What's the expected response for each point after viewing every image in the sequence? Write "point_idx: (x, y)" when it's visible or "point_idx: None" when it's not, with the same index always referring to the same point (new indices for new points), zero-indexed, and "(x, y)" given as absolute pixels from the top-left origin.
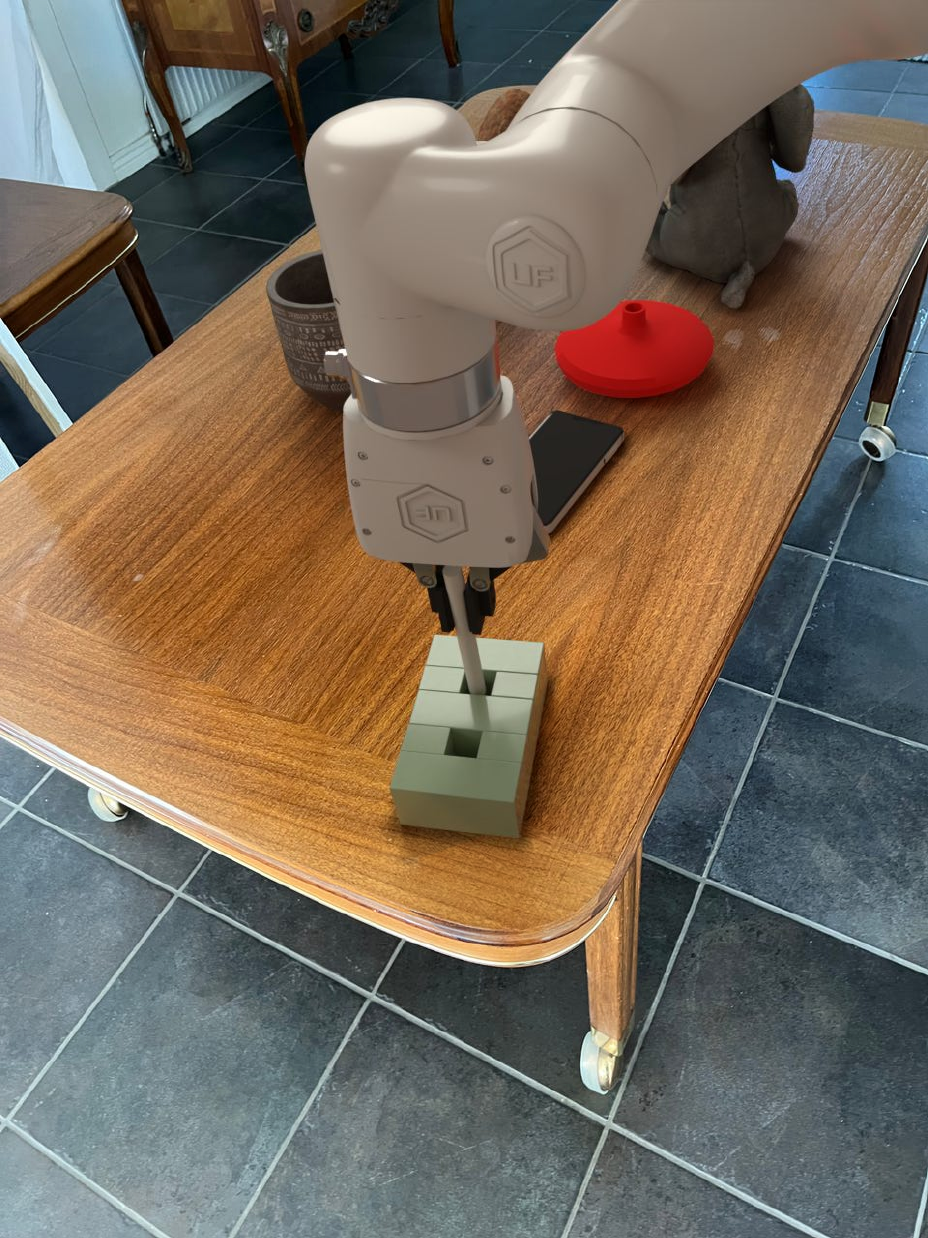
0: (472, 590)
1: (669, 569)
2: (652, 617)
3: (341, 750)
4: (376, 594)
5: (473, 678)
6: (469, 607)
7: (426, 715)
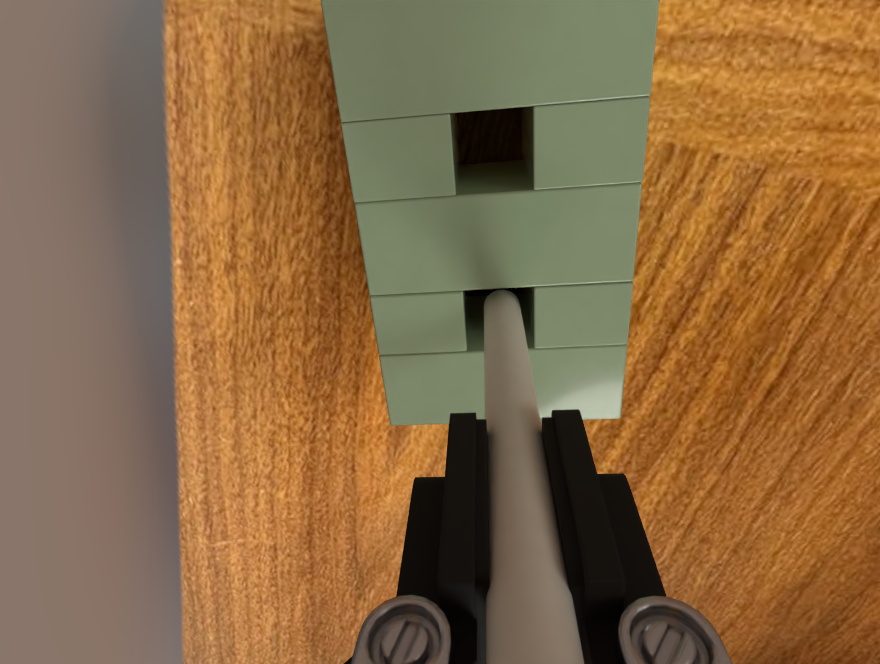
0: (447, 596)
1: (287, 558)
2: (283, 486)
3: (782, 147)
4: (745, 485)
5: (500, 317)
6: (467, 511)
7: (600, 214)
